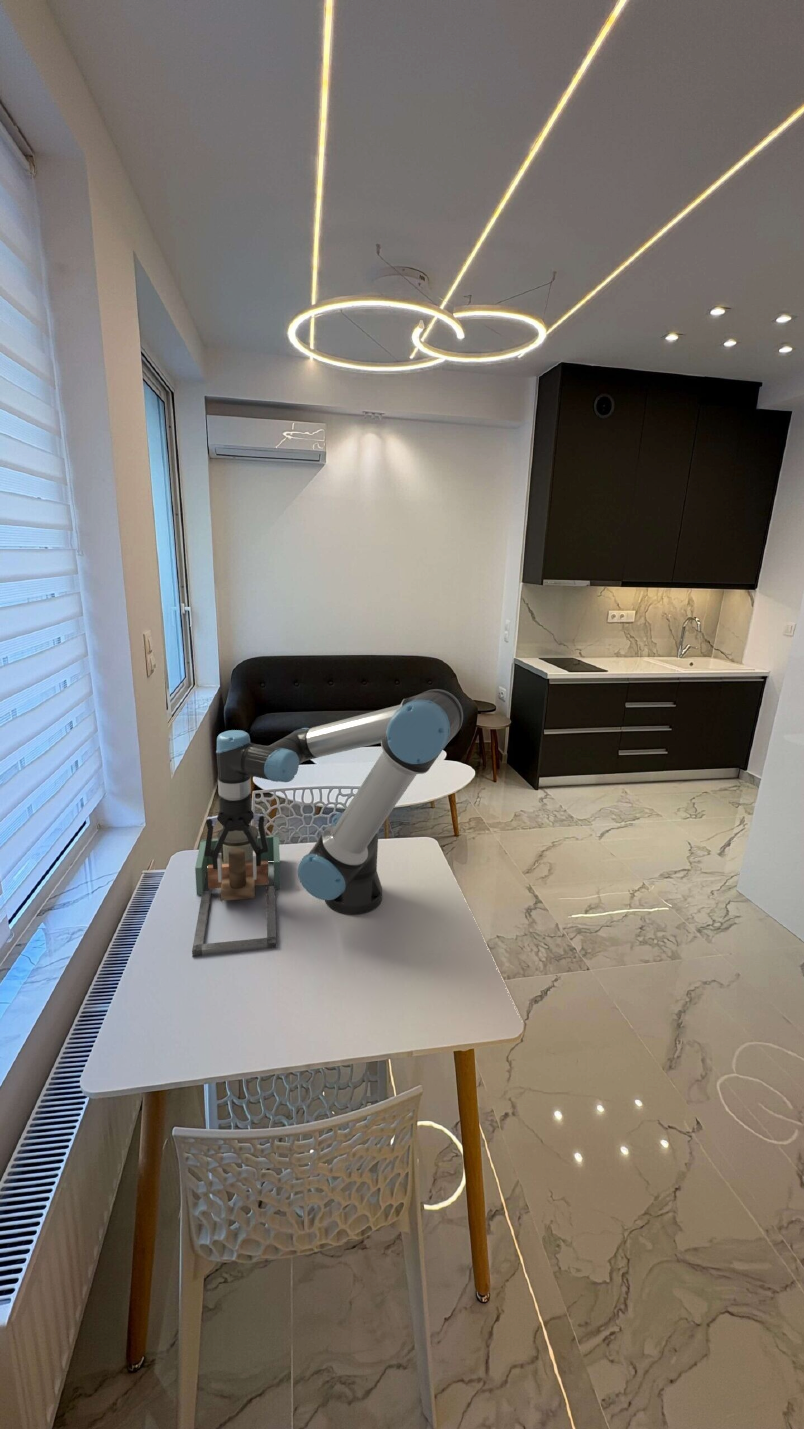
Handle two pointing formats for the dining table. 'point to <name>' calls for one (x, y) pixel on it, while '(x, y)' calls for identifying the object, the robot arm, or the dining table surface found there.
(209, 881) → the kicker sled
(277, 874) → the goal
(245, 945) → the track
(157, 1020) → the dining table surface
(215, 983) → the dining table surface
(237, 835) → the coffee can
